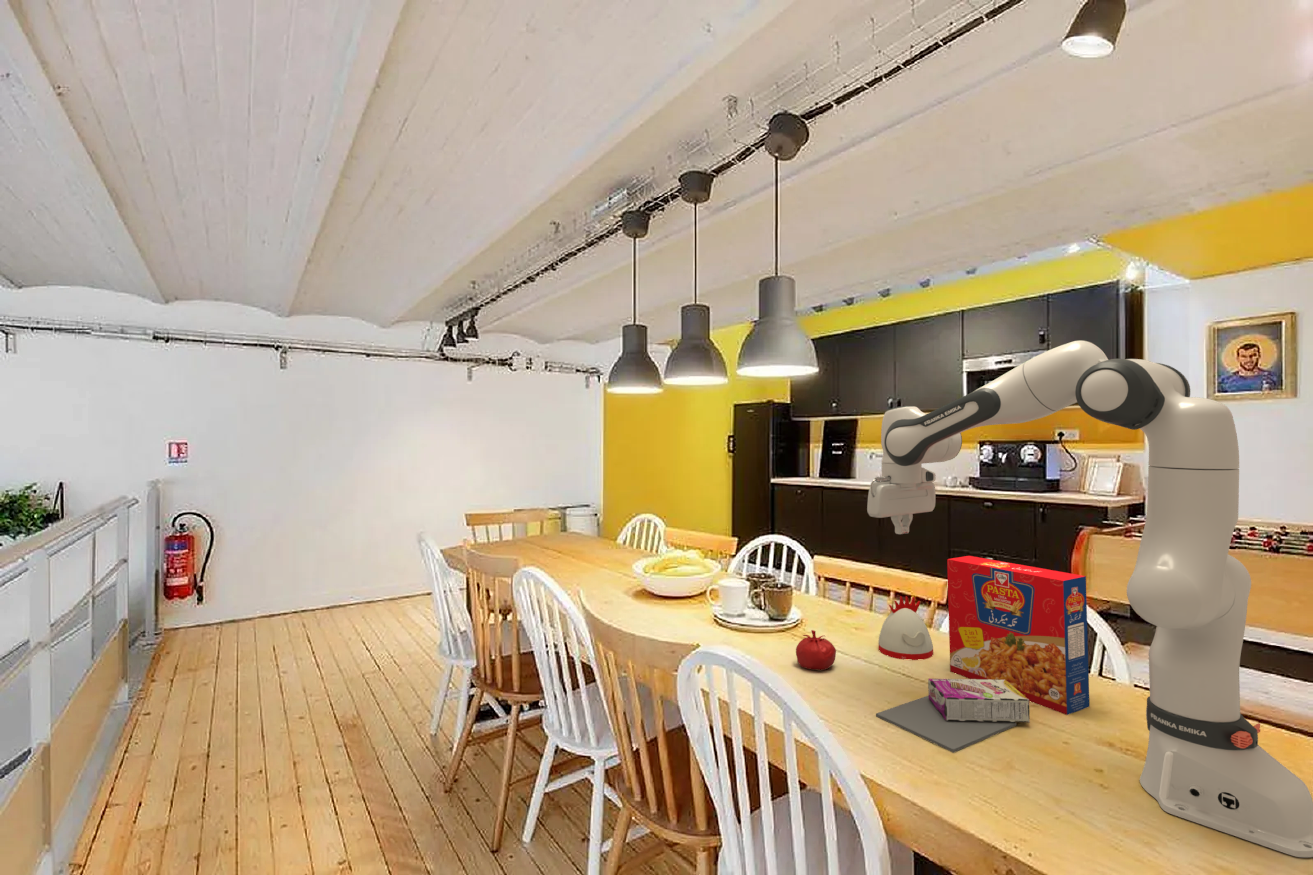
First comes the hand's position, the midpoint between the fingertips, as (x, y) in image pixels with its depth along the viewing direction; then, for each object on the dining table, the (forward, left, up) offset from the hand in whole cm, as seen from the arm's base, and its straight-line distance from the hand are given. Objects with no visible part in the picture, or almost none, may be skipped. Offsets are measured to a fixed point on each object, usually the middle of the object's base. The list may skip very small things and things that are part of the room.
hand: (902, 533), depth 147 cm
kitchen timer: (+15, -19, -36) cm, 43 cm away
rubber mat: (-17, +9, -36) cm, 41 cm away
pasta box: (-15, -19, -36) cm, 43 cm away
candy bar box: (-14, +8, -33) cm, 36 cm away
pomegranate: (+20, +9, -36) cm, 42 cm away
